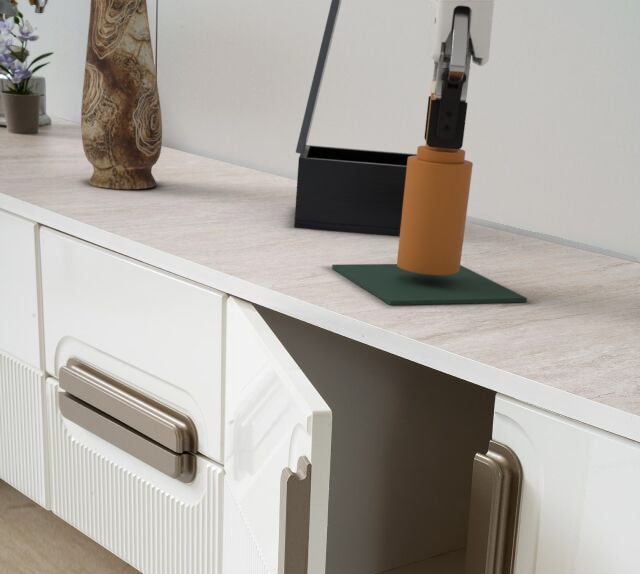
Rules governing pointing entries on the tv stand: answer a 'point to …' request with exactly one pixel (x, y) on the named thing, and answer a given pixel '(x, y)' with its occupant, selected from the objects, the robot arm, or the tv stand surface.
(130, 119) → the vase
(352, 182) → the black rectangular box
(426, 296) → the mat
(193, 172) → the tv stand surface
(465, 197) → the bottle
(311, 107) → the lid
